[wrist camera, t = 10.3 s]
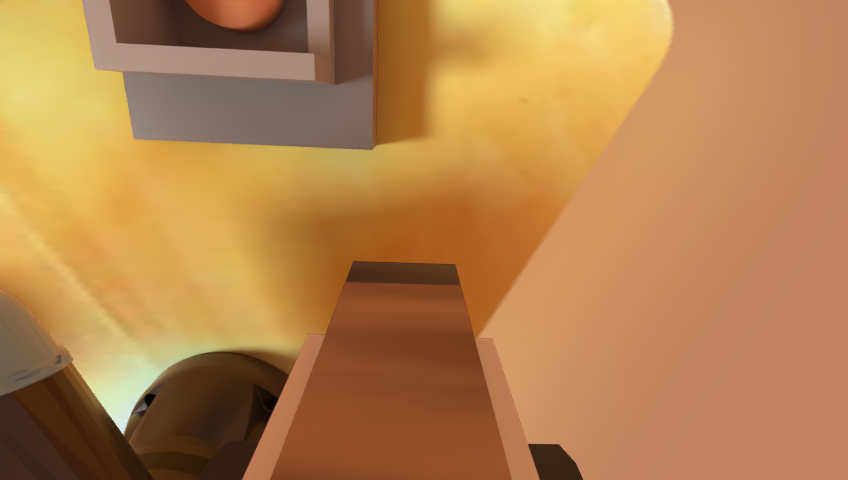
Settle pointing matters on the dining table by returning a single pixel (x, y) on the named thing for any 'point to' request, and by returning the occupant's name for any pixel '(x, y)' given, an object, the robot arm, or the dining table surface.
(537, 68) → the dining table surface
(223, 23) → the button
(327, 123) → the switch panel
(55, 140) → the dining table surface
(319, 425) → the brown wooden block
